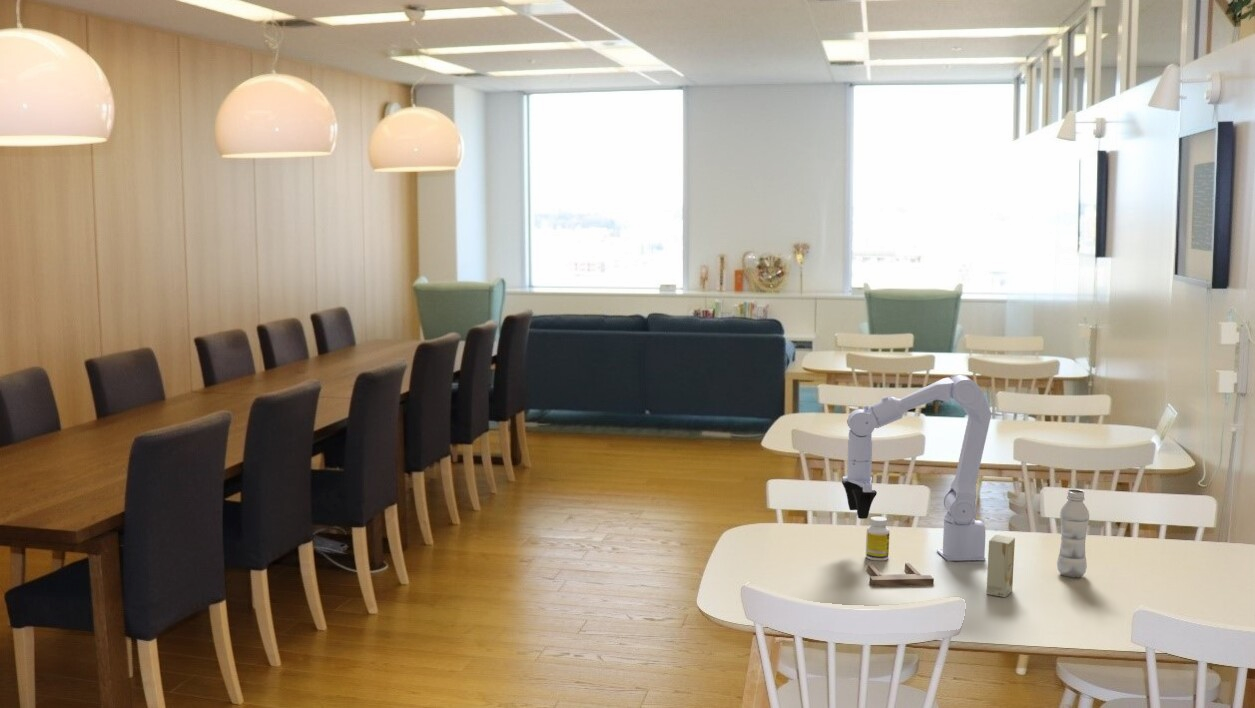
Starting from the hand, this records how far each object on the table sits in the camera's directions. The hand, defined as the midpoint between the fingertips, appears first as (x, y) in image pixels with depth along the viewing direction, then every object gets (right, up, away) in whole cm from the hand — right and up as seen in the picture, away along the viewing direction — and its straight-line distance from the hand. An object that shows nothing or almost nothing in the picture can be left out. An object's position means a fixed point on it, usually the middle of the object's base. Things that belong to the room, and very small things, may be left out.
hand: (858, 513), depth 285 cm
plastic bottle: (+46, -12, -15) cm, 50 cm away
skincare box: (+26, -14, -27) cm, 40 cm away
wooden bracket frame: (+5, -12, -17) cm, 21 cm away
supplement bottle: (+4, -11, -2) cm, 11 cm away
